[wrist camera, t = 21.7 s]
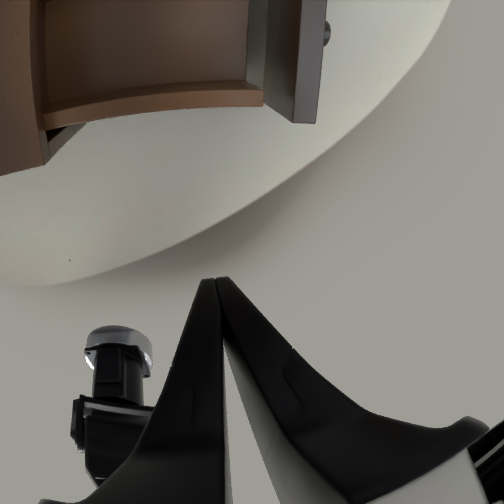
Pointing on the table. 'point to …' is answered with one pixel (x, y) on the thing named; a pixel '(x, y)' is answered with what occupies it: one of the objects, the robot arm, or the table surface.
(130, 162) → the table surface
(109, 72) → the drawer
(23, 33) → the cabinet
